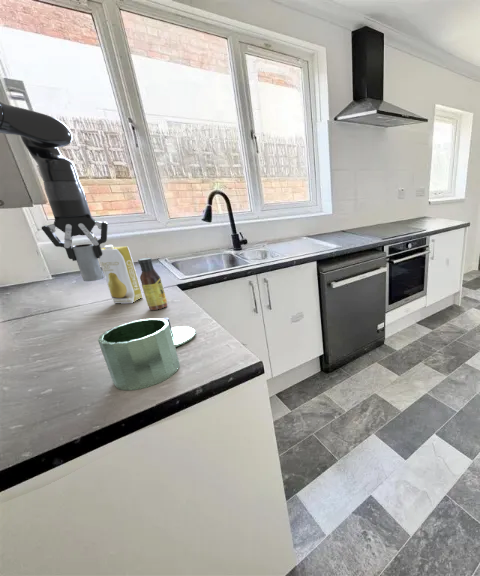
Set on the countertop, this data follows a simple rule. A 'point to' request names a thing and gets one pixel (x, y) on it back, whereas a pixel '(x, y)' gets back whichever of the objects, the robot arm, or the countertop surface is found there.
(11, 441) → the countertop surface
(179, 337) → the tin lid
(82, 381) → the countertop surface
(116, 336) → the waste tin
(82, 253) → the grey tube
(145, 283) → the sauce bottle
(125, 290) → the juice carton
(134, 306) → the countertop surface
